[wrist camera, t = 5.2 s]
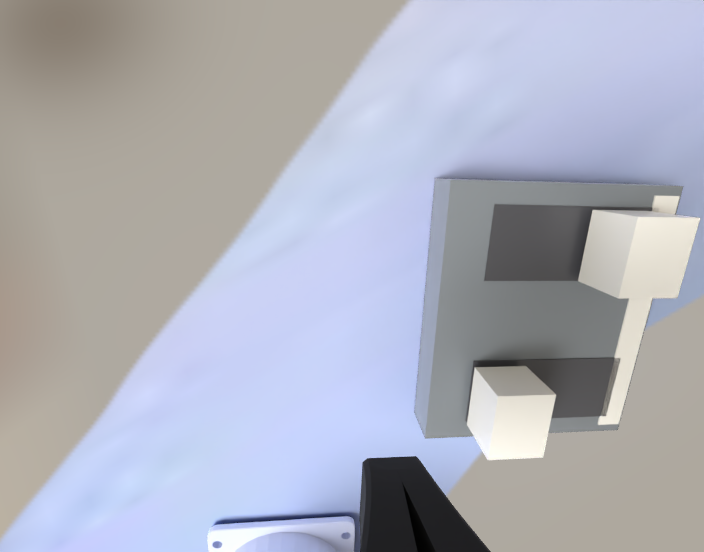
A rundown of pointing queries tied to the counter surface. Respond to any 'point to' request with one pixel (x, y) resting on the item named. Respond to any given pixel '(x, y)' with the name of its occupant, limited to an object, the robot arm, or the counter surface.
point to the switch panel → (526, 299)
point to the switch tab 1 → (510, 412)
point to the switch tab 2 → (637, 253)
